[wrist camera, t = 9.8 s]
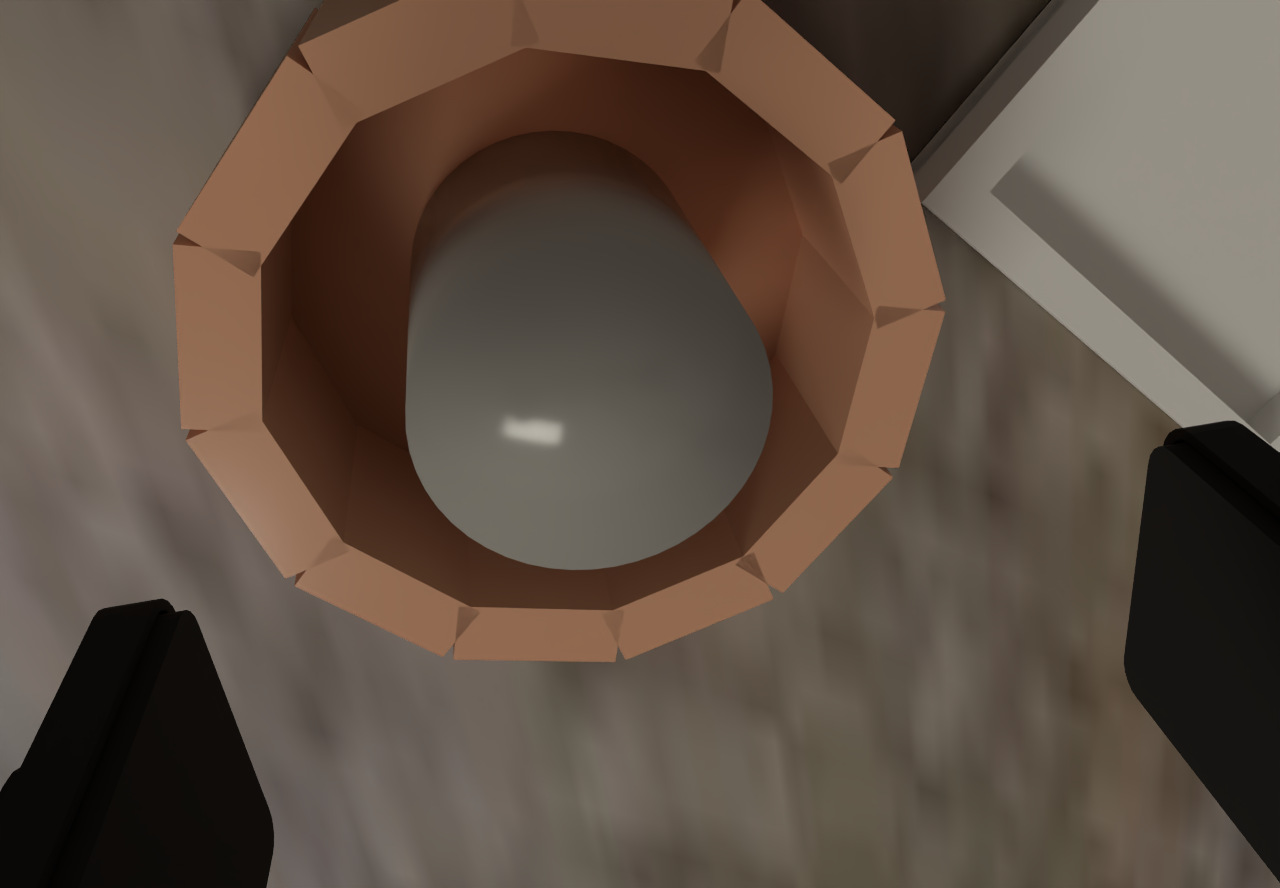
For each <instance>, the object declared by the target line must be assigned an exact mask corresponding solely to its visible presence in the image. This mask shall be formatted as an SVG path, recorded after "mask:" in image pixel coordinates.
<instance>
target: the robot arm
mask: <svg viewBox="0 0 1280 888" xmlns="http://www.w3.org/2000/svg"><path fill="white" fill-rule="evenodd" d="M1124 667H1125V673H1126V676H1127V680H1128V683H1129V685H1130V687H1131V690H1132V691H1133V693H1134V694H1135V696H1136V697H1137V699H1138V700H1139V701H1140V703H1141V704H1142V705H1143V706H1144V708H1145V709H1146V710H1147V712H1148V713H1149V714H1150V716H1151V717H1152V718H1153V719H1154V721H1155V722H1156V723H1157V725H1158V726H1159V727H1160V728H1161V730H1162V731H1163V732H1164V734H1165V735H1166V736H1167V737H1168V739H1169V740H1170V741H1171V743H1172V744H1173V745H1174V747H1175V748H1176V749H1177V750H1178V752H1179V753H1180V754H1181V756H1182V757H1183V758H1184V759H1185V761H1186V762H1187V763H1188V765H1189V766H1190V767H1191V769H1192V770H1193V771H1194V772H1195V774H1196V775H1197V776H1198V778H1199V779H1200V780H1201V781H1202V783H1203V784H1204V785H1205V787H1206V788H1207V789H1208V790H1209V792H1210V793H1211V794H1212V796H1213V797H1214V798H1215V800H1216V801H1217V802H1218V803H1219V805H1220V806H1221V807H1222V809H1223V810H1224V811H1225V812H1226V814H1227V815H1228V816H1229V818H1230V819H1231V820H1232V821H1233V823H1234V824H1235V825H1236V827H1237V828H1238V829H1239V831H1240V832H1241V833H1242V834H1243V836H1244V837H1245V838H1246V840H1247V841H1248V842H1249V843H1250V845H1251V846H1252V847H1253V849H1254V850H1255V851H1256V852H1257V854H1258V855H1259V856H1260V858H1261V859H1262V860H1263V862H1264V863H1265V864H1266V865H1267V867H1268V868H1269V869H1270V871H1271V872H1272V873H1273V874H1274V876H1275V877H1276V878H1277V880H1278V881H1279V882H1280V452H1278V451H1277V450H1276V449H1274V448H1273V447H1272V446H1270V445H1269V444H1268V443H1266V442H1265V441H1264V440H1263V439H1261V438H1260V437H1259V436H1257V435H1256V434H1255V433H1253V432H1252V431H1251V430H1249V429H1248V428H1247V427H1245V426H1244V425H1243V424H1241V423H1239V422H1237V421H1221V422H1215V423H1209V424H1203V425H1197V426H1191V427H1185V428H1179V429H1175V430H1173V431H1172V432H1170V433H1169V434H1168V436H1167V437H1166V439H1165V441H1164V445H1163V446H1160V447H1157V448H1155V449H1154V450H1153V452H1152V453H1151V455H1150V459H1149V463H1148V470H1147V478H1146V486H1145V494H1144V502H1143V510H1142V518H1141V526H1140V534H1139V542H1138V550H1137V558H1136V566H1135V574H1134V582H1133V590H1132V598H1131V606H1130V614H1129V622H1128V630H1127V638H1126V646H1125V654H1124ZM273 848H274V830H273V822H272V817H271V814H270V810H269V807H268V805H267V802H266V800H265V797H264V794H263V792H262V789H261V787H260V784H259V781H258V779H257V776H256V773H255V771H254V768H253V766H252V763H251V760H250V758H249V755H248V753H247V750H246V747H245V745H244V742H243V739H242V737H241V734H240V732H239V729H238V726H237V724H236V721H235V719H234V716H233V713H232V711H231V708H230V706H229V703H228V700H227V698H226V695H225V692H224V690H223V687H222V685H221V682H220V679H219V677H218V674H217V672H216V669H215V666H214V664H213V661H212V658H211V656H210V653H209V651H208V648H207V645H206V643H205V640H204V638H203V635H202V632H201V630H200V627H199V624H198V622H197V620H196V618H195V616H194V615H193V614H192V613H191V611H188V610H184V611H178V612H175V610H174V608H173V606H172V605H171V604H170V603H169V602H168V601H167V600H164V599H157V600H151V601H145V602H139V603H133V604H127V605H121V606H115V607H109V608H104V609H101V610H99V611H98V612H97V613H96V615H95V616H94V617H93V619H92V621H91V623H90V625H89V627H88V629H87V632H86V634H85V636H84V638H83V640H82V642H81V644H80V646H79V648H78V650H77V652H76V654H75V656H74V658H73V660H72V662H71V664H70V667H69V669H68V671H67V673H66V675H65V677H64V679H63V681H62V683H61V685H60V687H59V689H58V691H57V693H56V695H55V697H54V699H53V701H52V704H51V706H50V708H49V710H48V712H47V714H46V716H45V718H44V720H43V722H42V724H41V726H40V728H39V730H38V732H37V734H36V736H35V739H34V741H33V743H32V745H31V747H30V749H29V751H28V753H27V755H26V757H25V759H24V761H23V763H22V765H21V767H20V768H19V769H17V770H15V771H14V772H13V773H12V774H11V775H10V777H9V778H8V780H7V781H6V783H5V784H4V786H3V787H2V789H1V791H0V888H266V886H267V881H268V876H269V871H270V866H271V861H272V856H273Z"/></svg>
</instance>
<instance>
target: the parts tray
mask: <svg viewBox="0 0 1280 888" xmlns="http://www.w3.org/2000/svg"><path fill="white" fill-rule="evenodd" d="M911 168H912V172H913V175H914V179H915V183H916V187H917V191H918V195H919V199H920V202H921V203H922V204H923V205H924V206H925V207H926V208H927V209H928V210H930V211H931V212H932V213H933V214H934V215H935V216H937V217H938V218H939V219H940V220H941V221H942V222H944V223H945V224H946V225H947V226H948V227H949V228H951V229H952V230H953V231H954V232H955V233H956V234H958V235H959V236H960V237H961V238H962V239H963V240H965V241H966V242H967V243H968V244H969V245H970V246H972V247H973V248H974V249H975V250H976V251H977V252H979V253H980V254H981V255H982V256H983V257H984V258H986V259H987V260H988V261H989V262H990V263H991V264H993V265H994V266H995V267H996V268H997V269H998V270H1000V271H1001V272H1002V273H1003V274H1004V275H1005V276H1006V277H1008V278H1009V279H1010V280H1011V281H1012V282H1013V283H1015V284H1016V285H1017V286H1018V287H1019V288H1020V289H1022V290H1023V291H1024V292H1025V293H1026V294H1027V295H1029V296H1030V297H1031V298H1032V299H1033V300H1034V301H1036V302H1037V303H1038V304H1039V305H1040V306H1041V307H1043V308H1044V309H1045V310H1046V311H1047V312H1048V313H1050V314H1051V315H1052V316H1053V317H1054V318H1055V319H1057V320H1058V321H1059V322H1060V323H1061V324H1062V325H1064V326H1065V327H1066V328H1067V329H1068V330H1069V331H1071V332H1072V333H1073V334H1074V335H1075V336H1076V337H1078V338H1079V339H1080V340H1081V341H1082V342H1083V343H1085V344H1086V345H1087V346H1088V347H1089V348H1090V349H1091V350H1093V351H1094V352H1095V353H1096V354H1097V355H1098V356H1100V357H1101V358H1102V359H1103V360H1104V361H1105V362H1107V363H1108V364H1109V365H1110V366H1111V367H1112V368H1114V369H1115V370H1116V371H1117V372H1118V373H1119V374H1121V375H1122V376H1123V377H1124V378H1125V379H1126V380H1128V381H1129V382H1130V383H1131V384H1132V385H1133V386H1135V387H1136V388H1137V389H1138V390H1139V391H1140V392H1142V393H1143V394H1144V395H1145V396H1146V397H1147V398H1149V399H1150V400H1151V401H1152V402H1153V403H1154V404H1156V405H1157V406H1158V407H1159V408H1160V409H1161V410H1163V411H1164V412H1165V413H1166V414H1167V415H1168V416H1170V417H1171V418H1172V419H1173V420H1174V421H1175V422H1176V423H1178V424H1179V425H1180V426H1181V427H1182V428H1185V427H1191V426H1197V425H1203V424H1209V423H1215V422H1221V421H1237V422H1239V423H1241V424H1243V425H1244V426H1245V427H1247V428H1248V429H1249V430H1251V431H1252V432H1253V433H1255V434H1256V435H1257V436H1259V437H1260V438H1261V439H1263V440H1264V441H1265V442H1266V443H1268V444H1269V445H1270V446H1272V447H1273V448H1274V449H1276V450H1277V451H1278V452H1280V0H1051V1H1050V2H1049V4H1048V5H1047V6H1046V7H1045V8H1044V9H1043V11H1042V12H1041V13H1040V14H1039V15H1038V16H1037V18H1036V19H1035V20H1034V21H1033V22H1032V23H1031V24H1030V26H1029V27H1028V28H1027V29H1026V30H1025V31H1024V33H1023V34H1022V35H1021V36H1020V37H1019V38H1018V40H1017V41H1016V42H1015V43H1014V44H1013V45H1012V47H1011V48H1010V49H1009V50H1008V51H1007V52H1006V54H1005V55H1004V56H1003V57H1002V58H1001V59H1000V60H999V62H998V63H997V64H996V65H995V66H994V67H993V69H992V70H991V71H990V72H989V73H988V74H987V76H986V77H985V78H984V79H983V80H982V81H981V83H980V84H979V85H978V86H977V87H976V88H975V90H974V91H973V92H972V93H971V94H970V95H969V96H968V98H967V99H966V100H965V101H964V102H963V103H962V105H961V106H960V107H959V108H958V109H957V110H956V112H955V113H954V114H953V115H952V116H951V117H950V119H949V120H948V121H947V122H946V123H945V124H944V126H943V127H942V128H941V129H940V130H939V131H938V133H937V134H936V135H935V136H934V137H933V138H932V139H931V141H930V142H929V143H928V144H927V145H926V146H925V148H924V149H923V150H922V151H921V152H920V153H919V155H918V156H917V157H916V158H915V159H914V160H913V162H912V163H911Z"/></svg>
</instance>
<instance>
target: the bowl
mask: <svg viewBox="0 0 1280 888" xmlns="http://www.w3.org/2000/svg"><path fill="white" fill-rule="evenodd" d="M894 121H895V119H894V118H892V117H891V116H890V115H889V114H888V113H887V112H886V111H885V110H883V109H882V108H881V107H880V106H879V105H878V104H877V103H876V102H874V101H873V100H872V99H871V98H870V97H869V96H868V95H867V94H865V93H864V92H863V91H862V90H861V89H860V88H859V87H858V86H857V85H855V84H854V83H853V82H852V81H851V80H850V79H849V78H848V77H846V76H845V75H844V74H843V73H842V72H841V71H840V70H839V69H837V68H836V67H835V66H834V65H833V64H832V63H831V62H830V61H829V60H827V59H826V58H825V57H824V56H823V55H822V54H821V53H820V52H818V51H817V50H816V49H815V48H814V47H813V46H812V45H811V44H809V43H808V42H807V41H806V40H805V39H804V38H803V37H802V36H800V35H799V34H798V33H797V32H796V31H795V30H794V29H793V28H792V27H790V26H789V25H788V24H787V23H786V22H785V21H784V20H783V19H781V18H780V17H779V16H778V15H777V14H776V13H775V12H774V11H772V10H771V9H770V8H769V7H768V6H767V5H766V4H765V3H763V2H762V1H761V0H324V1H323V3H322V5H321V7H320V8H319V10H318V9H317V8H315V9H314V10H313V12H312V14H311V15H310V17H309V18H308V20H307V22H306V23H305V25H304V26H303V28H302V29H301V31H300V33H299V34H298V36H297V37H296V39H295V41H294V42H293V44H292V45H291V47H290V49H289V50H288V52H287V53H286V55H285V56H284V58H283V60H282V61H281V63H280V64H279V66H278V68H277V69H276V70H275V72H274V74H273V75H272V77H271V79H270V80H269V82H268V83H267V85H266V87H265V88H264V90H263V91H262V93H261V95H260V96H259V98H258V99H257V101H256V103H255V104H254V106H253V107H252V109H251V110H250V112H249V114H248V115H247V117H246V118H245V120H244V122H243V123H242V125H241V126H240V128H239V130H238V131H237V133H236V134H235V136H234V138H233V139H232V141H231V142H230V144H229V145H228V147H227V149H226V150H225V152H224V153H223V155H222V157H221V158H220V160H219V162H218V163H217V165H216V167H215V168H214V170H213V171H212V173H211V175H210V176H209V178H208V180H207V181H206V183H205V185H204V186H203V188H202V190H201V191H200V193H199V195H198V196H197V198H196V199H195V201H194V203H193V204H192V206H191V208H190V209H189V211H188V213H187V214H186V216H185V218H184V219H183V221H182V222H181V224H180V226H179V227H178V229H177V232H178V233H179V235H178V236H177V238H176V240H175V241H174V243H173V260H174V282H175V303H176V324H177V345H178V366H179V388H180V409H181V429H190V430H189V433H188V436H187V438H186V441H187V443H188V444H189V446H190V447H191V448H192V450H193V451H194V453H195V454H196V455H197V457H198V458H199V460H200V461H201V462H202V464H203V465H204V466H205V468H206V469H207V471H208V472H209V473H210V475H211V476H212V478H213V479H214V480H215V482H216V483H217V485H218V486H219V487H220V489H221V490H222V491H223V493H224V494H225V496H226V497H227V498H228V500H229V501H230V503H231V504H232V505H233V507H234V508H235V509H236V511H237V512H238V514H239V515H240V516H241V518H242V519H243V521H244V522H245V523H246V525H247V526H248V528H249V529H250V530H251V532H252V533H253V534H254V536H255V537H256V539H257V540H258V541H259V543H260V544H261V546H262V547H263V548H264V550H265V551H266V552H267V554H268V555H269V557H270V558H271V559H272V561H273V562H274V564H275V565H276V566H277V568H278V569H279V571H280V572H281V573H282V575H283V576H284V577H285V579H286V578H288V577H291V576H293V575H295V574H296V580H295V585H294V586H295V587H297V588H300V589H302V590H304V591H306V592H308V593H310V594H312V595H314V596H316V597H318V598H320V599H322V600H325V601H327V602H329V603H331V604H333V605H335V606H337V607H339V608H341V609H343V610H345V611H348V612H350V613H352V614H354V615H356V616H358V617H360V618H362V619H364V620H366V621H368V622H370V623H373V624H375V625H377V626H379V627H381V628H383V629H385V630H387V631H389V632H391V633H393V634H395V635H398V636H400V637H402V638H404V639H406V640H408V641H410V642H412V643H414V644H416V645H418V646H421V647H423V648H425V649H427V650H429V651H431V652H433V653H435V654H437V655H439V656H441V657H443V656H444V655H445V654H446V653H447V651H448V650H449V649H450V648H451V647H452V645H453V655H454V660H516V661H584V662H615V659H616V653H617V647H618V646H619V648H620V650H621V652H622V654H623V656H624V657H625V659H626V660H627V659H629V658H632V657H634V656H636V655H639V654H641V653H644V652H646V651H649V650H651V649H653V648H656V647H658V646H661V645H663V644H666V643H668V642H671V641H673V640H675V639H678V638H680V637H683V636H685V635H688V634H690V633H692V632H695V631H697V630H700V629H702V628H705V627H707V626H709V625H712V624H714V623H717V622H719V621H722V620H724V619H727V618H729V617H731V616H734V615H736V614H739V613H741V612H744V611H746V610H748V609H751V608H753V607H756V606H758V605H761V604H763V603H765V602H768V601H770V600H773V597H772V594H771V592H770V590H769V587H768V585H770V586H772V587H773V588H775V589H777V590H778V591H780V592H782V593H783V592H784V591H785V590H786V589H787V588H788V587H789V586H790V585H791V584H792V583H793V582H794V581H795V580H796V579H797V577H798V576H799V575H800V574H801V573H802V572H803V571H804V570H805V569H806V568H807V567H808V566H809V565H810V564H811V563H812V562H813V561H814V560H815V559H816V558H817V557H818V555H819V554H820V553H821V552H822V551H823V550H824V549H825V548H826V547H827V546H828V545H829V544H830V543H831V542H832V541H833V540H834V539H835V538H836V537H837V536H838V535H839V534H840V532H841V531H842V530H843V529H844V528H845V527H846V526H847V525H848V524H849V523H850V522H851V521H852V520H853V519H854V518H855V517H856V516H857V515H858V514H859V513H860V512H861V510H862V509H863V508H864V507H865V506H866V505H867V504H868V503H869V502H870V501H871V500H872V499H873V498H874V497H875V496H876V495H877V494H878V493H879V492H880V491H881V490H882V488H883V487H884V486H885V485H886V484H887V483H888V482H889V481H890V480H891V479H892V478H893V477H892V475H891V474H890V473H889V471H888V470H887V468H886V467H889V468H899V465H900V462H901V458H902V455H903V452H904V448H905V445H906V442H907V438H908V435H909V432H910V428H911V425H912V422H913V418H914V415H915V412H916V408H917V405H918V402H919V398H920V395H921V392H922V388H923V385H924V381H925V378H926V375H927V371H928V368H929V365H930V361H931V358H932V355H933V351H934V348H935V345H936V341H937V338H938V335H939V331H940V328H941V325H942V321H943V318H944V315H945V311H944V310H943V309H942V308H941V307H940V306H939V305H938V303H940V302H942V301H945V300H946V299H945V295H944V291H943V287H942V284H941V280H940V276H939V272H938V268H937V264H936V260H935V257H934V253H933V249H932V245H931V241H930V237H929V233H928V230H927V226H926V222H925V218H924V214H923V210H922V206H921V202H920V199H919V195H918V191H917V187H916V183H915V179H914V175H913V172H912V168H911V164H910V160H909V156H908V152H907V148H906V145H905V141H904V137H903V133H902V131H901V130H900V129H898V128H897V127H895V126H894V125H892V124H893V123H894ZM541 131H569V132H576V133H582V134H587V135H592V136H595V137H598V138H601V139H604V140H607V141H609V142H612V143H614V144H616V145H618V146H620V147H622V148H624V149H626V150H627V151H629V152H630V153H632V154H633V155H635V156H636V157H638V158H639V159H641V160H642V161H643V162H644V163H645V164H647V165H648V166H649V167H650V168H651V169H652V170H653V171H654V172H655V173H656V174H657V175H658V176H659V177H660V178H661V180H662V181H663V182H664V183H665V184H666V185H667V187H668V189H669V190H670V192H671V193H672V195H673V196H674V198H675V199H676V201H677V203H678V204H679V206H680V207H681V209H682V211H683V212H684V214H685V215H686V217H687V219H688V220H689V222H690V223H691V225H692V226H693V228H694V230H695V231H696V233H697V234H698V236H699V238H700V239H701V241H702V242H703V244H704V246H705V247H706V249H707V250H708V252H709V254H710V255H711V257H712V258H713V260H714V261H715V263H716V265H717V266H718V268H719V269H720V271H721V273H722V274H723V276H724V277H725V279H726V281H727V282H728V284H729V285H730V287H731V289H732V290H733V292H734V293H735V295H736V296H737V298H738V300H739V301H740V303H741V304H742V306H743V308H744V309H745V311H746V312H747V314H748V316H749V317H750V319H751V320H752V322H753V324H754V325H755V327H756V329H757V331H758V333H759V335H760V338H761V340H762V342H763V344H764V347H765V350H766V354H767V357H768V361H769V365H770V369H771V377H772V385H773V403H772V414H771V420H770V426H769V431H768V434H767V438H766V441H765V444H764V447H763V450H762V453H761V455H760V457H759V459H758V461H757V463H756V466H755V468H754V470H753V471H752V473H751V475H750V476H749V478H748V479H747V481H746V483H745V484H744V486H743V487H742V489H741V490H740V491H739V492H738V494H737V495H736V496H735V497H734V499H733V500H732V501H731V502H730V504H729V505H728V506H727V507H726V508H725V509H724V510H723V511H722V512H721V513H719V514H718V515H717V516H716V517H715V518H714V519H713V520H712V521H711V522H709V523H708V524H707V525H706V526H704V527H703V528H702V529H701V530H699V531H698V532H697V533H695V534H694V535H692V536H690V537H689V538H687V539H686V540H684V541H682V542H681V543H679V544H677V545H675V546H673V547H671V548H669V549H667V550H665V551H663V552H661V553H659V554H656V555H653V556H651V557H648V558H645V559H642V560H639V561H636V562H632V563H628V564H624V565H620V566H615V567H608V568H601V569H593V570H565V569H553V568H546V567H541V566H536V565H531V564H526V563H523V562H520V561H517V560H514V559H511V558H508V557H505V556H503V555H501V554H499V553H496V552H494V551H492V550H490V549H488V548H486V547H484V546H483V545H481V544H479V543H478V542H476V541H475V540H473V539H471V538H470V537H468V536H467V535H466V534H465V533H463V532H462V531H461V530H460V529H459V528H457V527H456V526H455V525H454V524H452V523H451V522H450V520H449V519H448V518H447V517H446V516H445V515H444V514H443V513H442V512H441V511H440V510H439V509H438V508H437V506H436V505H435V503H434V502H433V500H432V499H431V498H430V496H429V495H428V493H427V492H426V490H425V488H424V486H423V484H422V482H421V480H420V478H419V476H418V474H417V472H416V470H415V467H414V464H413V461H412V458H411V455H410V452H409V446H408V440H407V434H406V413H405V405H406V377H407V348H408V320H409V291H410V263H411V253H412V245H413V240H414V236H415V233H416V229H417V225H418V223H419V220H420V218H421V216H422V213H423V211H424V209H425V207H426V205H427V203H428V202H429V200H430V199H431V197H432V195H433V194H434V192H435V191H436V189H437V188H438V187H439V186H440V185H441V183H442V182H443V181H444V180H445V178H446V177H447V176H448V175H449V174H450V173H451V172H452V171H454V170H455V169H456V168H457V167H458V166H459V165H460V164H461V163H462V162H464V161H465V160H467V159H468V158H470V157H471V156H472V155H474V154H475V153H477V152H478V151H480V150H482V149H484V148H486V147H488V146H490V145H492V144H494V143H496V142H499V141H502V140H505V139H507V138H510V137H513V136H517V135H522V134H527V133H531V132H541ZM767 584H768V585H767Z"/></svg>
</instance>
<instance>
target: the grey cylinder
mask: <svg viewBox="0 0 1280 888" xmlns="http://www.w3.org/2000/svg"><path fill="white" fill-rule="evenodd" d="M772 403H773V385H772V377H771V369H770V365H769V361H768V357H767V354H766V350H765V347H764V344H763V342H762V340H761V338H760V335H759V333H758V331H757V329H756V327H755V325H754V324H753V322H752V320H751V319H750V317H749V316H748V314H747V312H746V311H745V309H744V308H743V306H742V304H741V303H740V301H739V300H738V298H737V296H736V295H735V293H734V292H733V290H732V289H731V287H730V285H729V284H728V282H727V281H726V279H725V277H724V276H723V274H722V273H721V271H720V269H719V268H718V266H717V265H716V263H715V261H714V260H713V258H712V257H711V255H710V254H709V252H708V250H707V249H706V247H705V246H704V244H703V242H702V241H701V239H700V238H699V236H698V234H697V233H696V231H695V230H694V228H693V226H692V225H691V223H690V222H689V220H688V219H687V217H686V215H685V214H684V212H683V211H682V209H681V207H680V206H679V204H678V203H677V201H676V199H675V198H674V196H673V195H672V193H671V192H670V190H669V189H668V187H667V185H666V184H665V183H664V182H663V181H662V180H661V178H660V177H659V176H658V175H657V174H656V173H655V172H654V171H653V170H652V169H651V168H650V167H649V166H648V165H647V164H645V163H644V162H643V161H642V160H641V159H639V158H638V157H636V156H635V155H633V154H632V153H630V152H629V151H627V150H626V149H624V148H622V147H620V146H618V145H616V144H614V143H612V142H609V141H607V140H604V139H601V138H598V137H595V136H592V135H587V134H582V133H576V132H569V131H541V132H531V133H527V134H522V135H517V136H513V137H510V138H507V139H505V140H502V141H499V142H496V143H494V144H492V145H490V146H488V147H486V148H484V149H482V150H480V151H478V152H477V153H475V154H474V155H472V156H471V157H470V158H468V159H467V160H465V161H464V162H462V163H461V164H460V165H459V166H458V167H457V168H456V169H455V170H454V171H452V172H451V173H450V174H449V175H448V176H447V177H446V178H445V180H444V181H443V182H442V183H441V185H440V186H439V187H438V188H437V189H436V191H435V192H434V194H433V195H432V197H431V199H430V200H429V202H428V203H427V205H426V207H425V209H424V211H423V213H422V216H421V218H420V220H419V223H418V225H417V229H416V233H415V236H414V240H413V245H412V253H411V263H410V291H409V320H408V348H407V377H406V405H405V413H406V434H407V440H408V446H409V452H410V455H411V458H412V461H413V464H414V467H415V470H416V472H417V474H418V476H419V478H420V480H421V482H422V484H423V486H424V488H425V490H426V492H427V493H428V495H429V496H430V498H431V499H432V500H433V502H434V503H435V505H436V506H437V508H438V509H439V510H440V511H441V512H442V513H443V514H444V515H445V516H446V517H447V518H448V519H449V520H450V522H451V523H452V524H454V525H455V526H456V527H457V528H459V529H460V530H461V531H462V532H463V533H465V534H466V535H467V536H468V537H470V538H471V539H473V540H475V541H476V542H478V543H479V544H481V545H483V546H484V547H486V548H488V549H490V550H492V551H494V552H496V553H499V554H501V555H503V556H505V557H508V558H511V559H514V560H517V561H520V562H523V563H526V564H531V565H536V566H541V567H546V568H553V569H565V570H593V569H601V568H608V567H615V566H620V565H624V564H628V563H632V562H636V561H639V560H642V559H645V558H648V557H651V556H653V555H656V554H659V553H661V552H663V551H665V550H667V549H669V548H671V547H673V546H675V545H677V544H679V543H681V542H682V541H684V540H686V539H687V538H689V537H690V536H692V535H694V534H695V533H697V532H698V531H699V530H701V529H702V528H703V527H704V526H706V525H707V524H708V523H709V522H711V521H712V520H713V519H714V518H715V517H716V516H717V515H718V514H719V513H721V512H722V511H723V510H724V509H725V508H726V507H727V506H728V505H729V504H730V502H731V501H732V500H733V499H734V497H735V496H736V495H737V494H738V492H739V491H740V490H741V489H742V487H743V486H744V484H745V483H746V481H747V479H748V478H749V476H750V475H751V473H752V471H753V470H754V468H755V466H756V463H757V461H758V459H759V457H760V455H761V453H762V450H763V447H764V444H765V441H766V438H767V434H768V431H769V426H770V420H771V414H772Z"/></svg>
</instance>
